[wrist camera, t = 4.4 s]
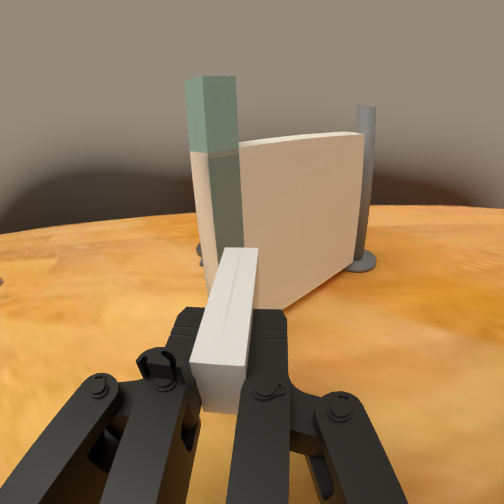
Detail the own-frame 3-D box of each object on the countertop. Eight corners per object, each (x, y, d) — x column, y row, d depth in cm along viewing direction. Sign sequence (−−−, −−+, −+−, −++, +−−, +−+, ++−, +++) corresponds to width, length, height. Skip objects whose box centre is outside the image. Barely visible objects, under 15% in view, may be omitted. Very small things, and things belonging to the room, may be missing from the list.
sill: (369, 249, 33) (369, 246, 33) (381, 272, 29) (381, 269, 29) (206, 249, 35) (206, 246, 35) (197, 272, 31) (196, 269, 30)
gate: (352, 250, 32) (362, 92, 24) (365, 255, 31) (378, 93, 23) (214, 334, 22) (184, 81, 13) (228, 347, 20) (202, 76, 12)
